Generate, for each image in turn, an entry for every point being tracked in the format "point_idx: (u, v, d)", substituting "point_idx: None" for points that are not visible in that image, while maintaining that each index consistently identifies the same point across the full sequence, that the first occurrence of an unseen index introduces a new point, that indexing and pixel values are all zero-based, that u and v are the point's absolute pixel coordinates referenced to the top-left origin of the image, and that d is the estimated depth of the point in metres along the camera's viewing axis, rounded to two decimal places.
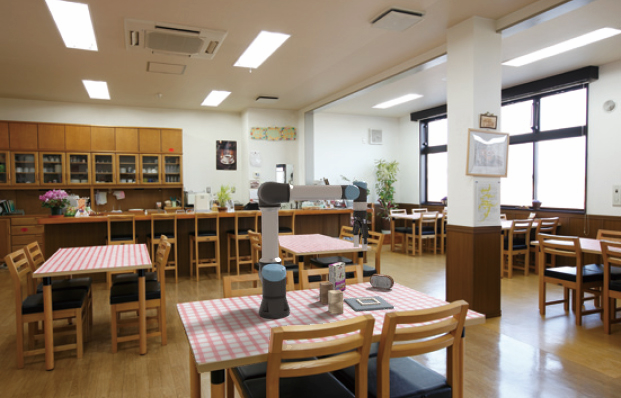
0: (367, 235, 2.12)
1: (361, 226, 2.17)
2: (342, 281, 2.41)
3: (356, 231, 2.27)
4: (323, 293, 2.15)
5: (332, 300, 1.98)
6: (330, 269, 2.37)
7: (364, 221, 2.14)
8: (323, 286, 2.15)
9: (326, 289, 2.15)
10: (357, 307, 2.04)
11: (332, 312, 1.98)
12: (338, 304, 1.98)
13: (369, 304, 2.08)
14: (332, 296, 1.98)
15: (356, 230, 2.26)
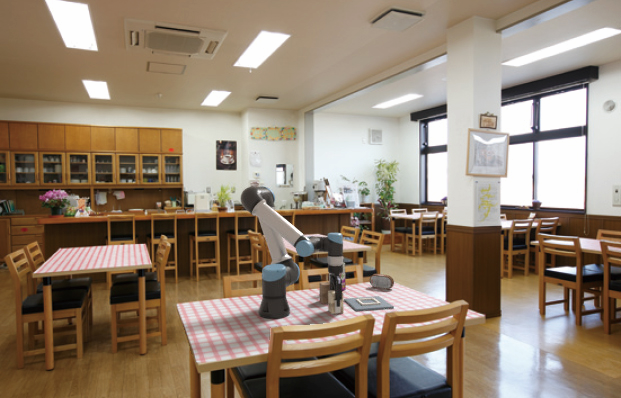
0: (340, 298, 1.95)
1: (335, 285, 1.98)
2: (342, 281, 2.41)
3: None
4: (323, 293, 2.15)
5: (332, 300, 1.98)
6: None
7: (339, 282, 1.94)
8: (323, 286, 2.15)
9: (326, 289, 2.15)
10: (357, 307, 2.04)
11: (332, 312, 1.98)
12: None
13: (369, 304, 2.08)
14: (332, 296, 1.98)
15: (333, 289, 2.03)
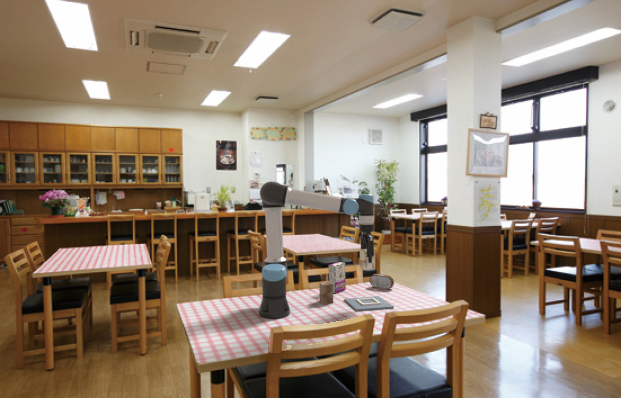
0: (372, 254, 2.06)
1: (367, 242, 2.09)
2: (342, 281, 2.41)
3: None
4: (323, 293, 2.15)
5: (364, 257, 2.09)
6: (330, 269, 2.37)
7: (371, 239, 2.06)
8: (323, 286, 2.15)
9: (326, 289, 2.15)
10: (357, 307, 2.04)
11: (364, 268, 2.09)
12: None
13: (369, 304, 2.08)
14: (364, 253, 2.09)
15: (364, 247, 2.15)
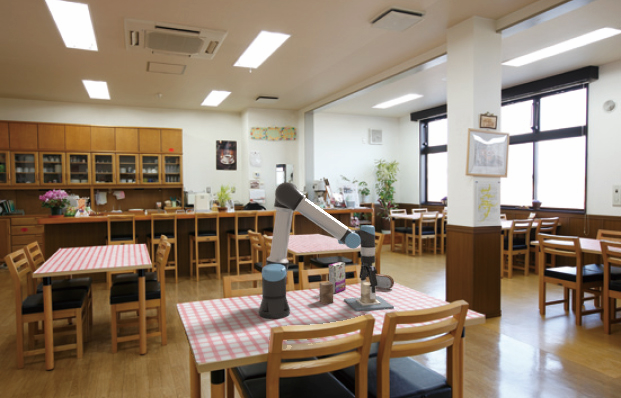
0: (375, 284, 2.04)
1: (369, 273, 2.09)
2: (342, 281, 2.41)
3: (364, 276, 2.18)
4: (323, 293, 2.15)
5: (365, 291, 2.10)
6: (330, 269, 2.37)
7: (372, 268, 2.06)
8: (323, 286, 2.15)
9: (326, 289, 2.15)
10: (357, 307, 2.04)
11: (365, 302, 2.10)
12: None
13: (369, 304, 2.08)
14: (365, 287, 2.10)
15: (364, 275, 2.18)
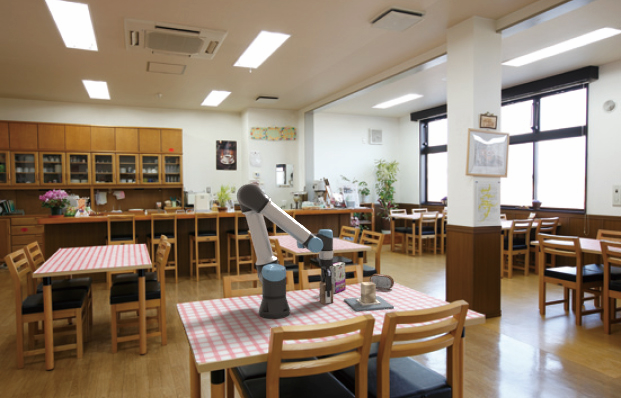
0: (330, 289, 2.12)
1: (326, 277, 2.15)
2: (342, 281, 2.41)
3: None
4: (323, 293, 2.15)
5: (365, 291, 2.10)
6: (330, 269, 2.37)
7: (329, 274, 2.12)
8: (323, 286, 2.15)
9: None
10: (357, 307, 2.04)
11: (365, 302, 2.10)
12: (371, 295, 2.10)
13: (369, 304, 2.08)
14: (365, 287, 2.10)
15: (324, 281, 2.21)
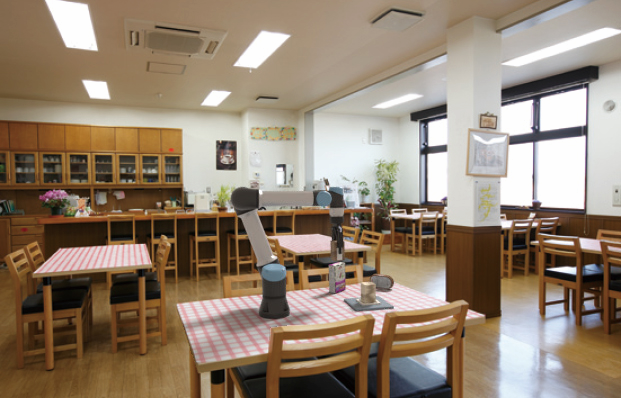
0: (342, 245, 2.10)
1: (337, 234, 2.14)
2: (342, 281, 2.41)
3: None
4: (335, 250, 2.13)
5: (365, 291, 2.10)
6: (330, 269, 2.37)
7: (340, 230, 2.10)
8: (334, 243, 2.13)
9: None
10: (357, 307, 2.04)
11: (365, 302, 2.10)
12: (371, 295, 2.10)
13: (369, 304, 2.08)
14: (365, 287, 2.10)
15: (335, 239, 2.19)
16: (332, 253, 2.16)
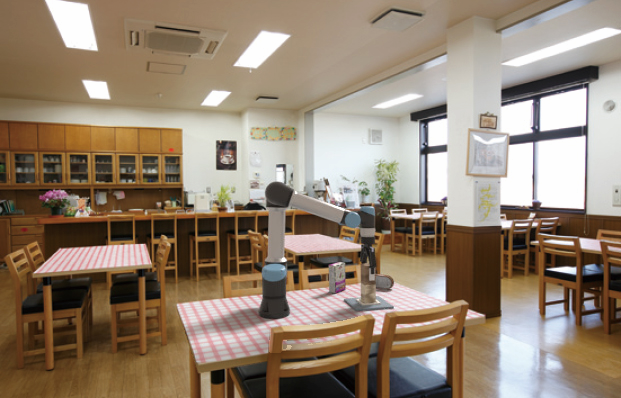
0: (375, 265, 2.04)
1: (369, 254, 2.09)
2: (342, 281, 2.41)
3: (364, 259, 2.17)
4: (366, 274, 2.09)
5: (365, 291, 2.10)
6: (330, 269, 2.37)
7: (372, 250, 2.06)
8: (365, 267, 2.09)
9: (368, 270, 2.10)
10: (357, 307, 2.04)
11: (365, 302, 2.10)
12: (371, 295, 2.10)
13: (369, 304, 2.08)
14: (365, 287, 2.10)
15: (364, 258, 2.17)
16: (363, 277, 2.12)
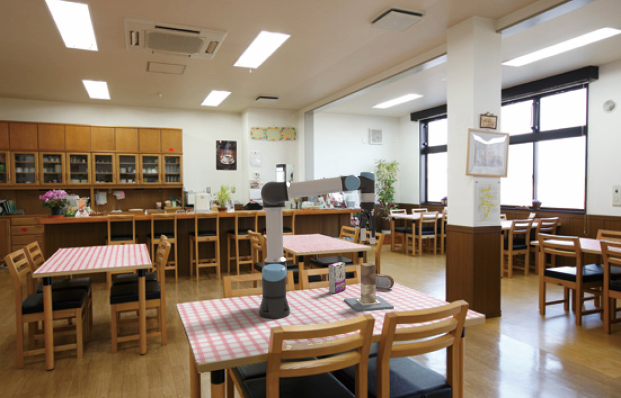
0: (375, 228, 2.03)
1: (369, 218, 2.08)
2: (342, 281, 2.41)
3: (363, 224, 2.18)
4: (366, 274, 2.10)
5: (365, 291, 2.10)
6: (330, 269, 2.37)
7: (372, 213, 2.05)
8: (365, 267, 2.09)
9: (368, 270, 2.10)
10: (357, 307, 2.04)
11: (365, 302, 2.10)
12: (371, 295, 2.10)
13: (369, 304, 2.08)
14: (365, 287, 2.10)
15: (363, 223, 2.17)
16: (363, 277, 2.12)
